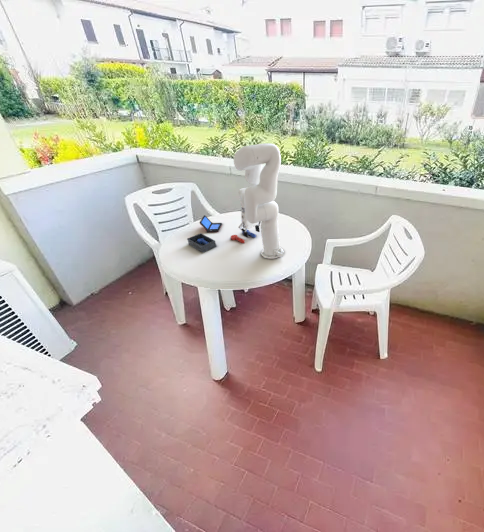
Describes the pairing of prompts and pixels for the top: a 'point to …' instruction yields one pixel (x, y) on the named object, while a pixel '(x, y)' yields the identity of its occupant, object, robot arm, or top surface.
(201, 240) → the blue spoon
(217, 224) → the handheld console
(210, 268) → the top surface
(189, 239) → the bin
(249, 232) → the blue spoon
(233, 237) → the red spoon
